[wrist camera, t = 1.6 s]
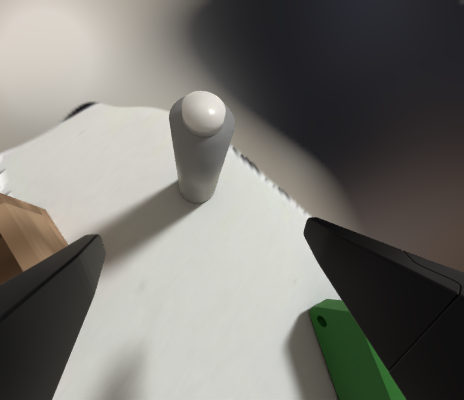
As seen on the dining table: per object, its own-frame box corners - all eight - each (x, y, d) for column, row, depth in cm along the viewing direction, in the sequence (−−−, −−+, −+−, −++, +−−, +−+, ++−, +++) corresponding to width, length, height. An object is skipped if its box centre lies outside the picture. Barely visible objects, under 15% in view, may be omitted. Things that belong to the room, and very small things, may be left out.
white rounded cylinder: (220, 182, 24) (249, 104, 12) (203, 209, 22) (217, 150, 10) (191, 165, 24) (192, 70, 12) (172, 191, 22) (151, 112, 10)
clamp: (343, 360, 24) (449, 441, 16) (313, 388, 21) (424, 504, 13) (341, 271, 23) (453, 312, 15) (309, 288, 20) (427, 350, 12)
